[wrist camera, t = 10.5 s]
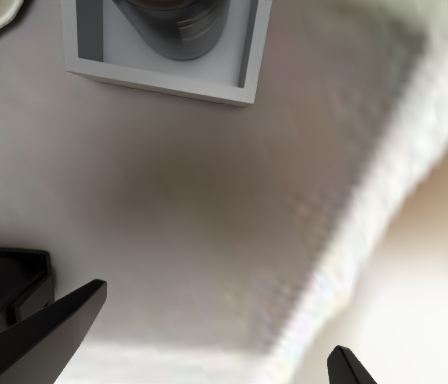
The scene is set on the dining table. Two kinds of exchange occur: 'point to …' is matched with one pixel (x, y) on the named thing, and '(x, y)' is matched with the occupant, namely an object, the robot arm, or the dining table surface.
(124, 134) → the dining table surface
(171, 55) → the supplement bottle
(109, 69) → the square tray
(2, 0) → the salad plate
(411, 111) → the dining table surface
